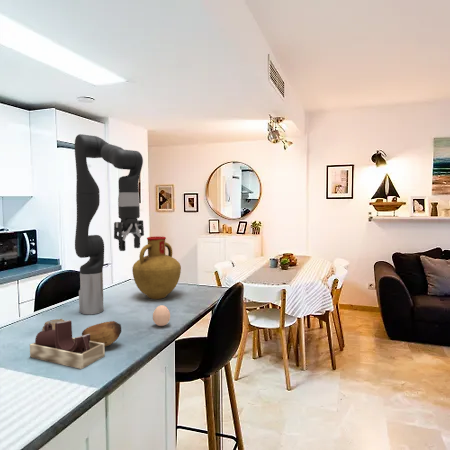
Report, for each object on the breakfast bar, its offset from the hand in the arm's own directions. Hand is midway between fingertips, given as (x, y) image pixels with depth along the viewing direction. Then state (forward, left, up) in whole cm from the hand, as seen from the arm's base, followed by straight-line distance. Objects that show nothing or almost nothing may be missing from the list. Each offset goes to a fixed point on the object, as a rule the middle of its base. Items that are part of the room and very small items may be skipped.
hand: (129, 249), depth 136 cm
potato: (+1, -17, -30) cm, 35 cm away
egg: (+8, +8, -30) cm, 32 cm away
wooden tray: (-3, -28, -30) cm, 41 cm away
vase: (-18, +44, -30) cm, 56 cm away
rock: (-23, -13, -31) cm, 41 cm away
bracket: (-4, -27, -29) cm, 39 cm away
